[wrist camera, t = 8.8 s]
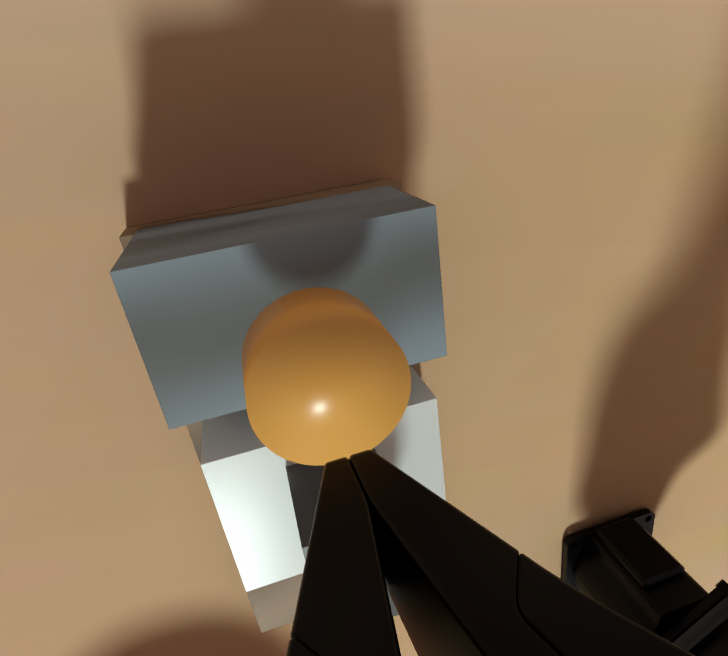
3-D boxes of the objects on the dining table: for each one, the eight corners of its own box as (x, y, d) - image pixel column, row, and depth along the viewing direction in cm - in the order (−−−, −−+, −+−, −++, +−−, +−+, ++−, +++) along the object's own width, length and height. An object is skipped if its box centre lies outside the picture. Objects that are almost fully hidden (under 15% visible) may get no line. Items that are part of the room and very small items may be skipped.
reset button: (391, 397, 14) (418, 439, 12) (260, 433, 13) (267, 484, 11) (374, 272, 12) (402, 300, 10) (224, 306, 11) (226, 342, 10)
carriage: (410, 459, 23) (491, 601, 17) (241, 510, 22) (253, 690, 15) (396, 347, 21) (485, 461, 14) (203, 397, 19) (197, 551, 13)
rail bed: (430, 548, 29) (479, 647, 23) (259, 607, 27) (270, 728, 22) (387, 178, 20) (451, 201, 14) (126, 228, 18) (89, 276, 13)
